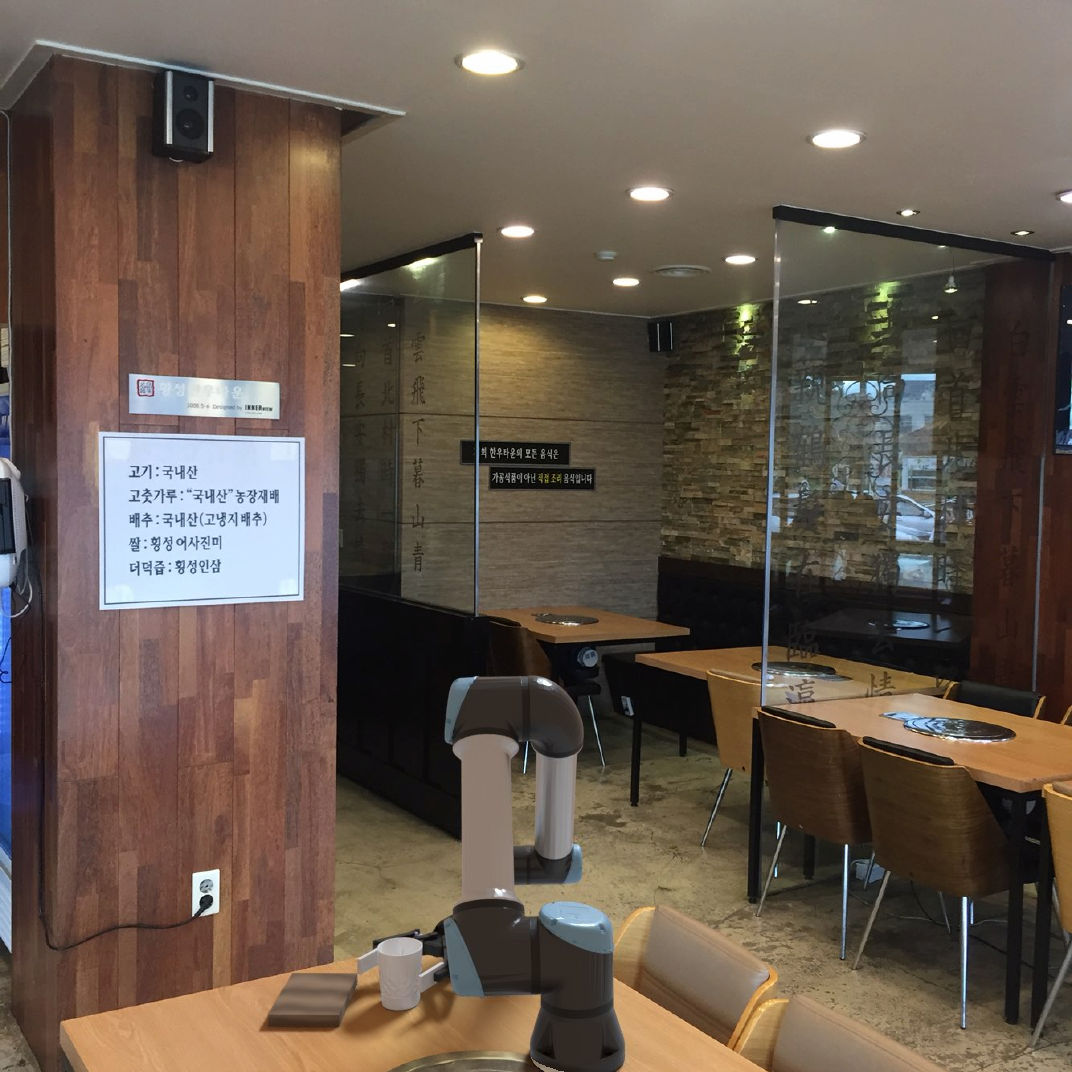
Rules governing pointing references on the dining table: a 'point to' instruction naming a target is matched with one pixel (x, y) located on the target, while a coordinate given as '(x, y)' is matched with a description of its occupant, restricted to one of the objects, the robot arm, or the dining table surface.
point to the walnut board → (313, 999)
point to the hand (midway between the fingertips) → (388, 975)
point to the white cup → (399, 972)
